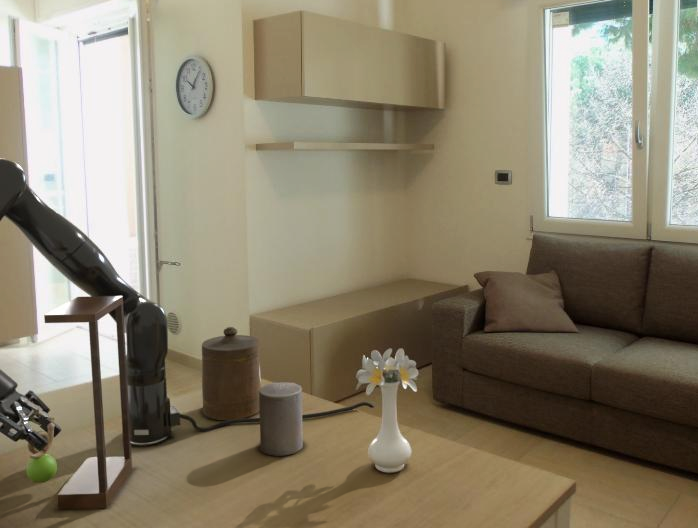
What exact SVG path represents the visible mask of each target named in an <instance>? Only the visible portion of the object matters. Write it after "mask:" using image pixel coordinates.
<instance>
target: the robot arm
mask: <svg viewBox="0 0 698 528" xmlns="http://www.w3.org/2000/svg"><path fill="white" fill-rule="evenodd" d="M4 217H5V218H6V219H8V220H9V222H11V223H12V224H13V225H14V226H16V227H17V228H18V230H20V232H21V233H22V234H23V235H24V236H25V237H26V238H27V240H28V241H29V242H30V244H32V246H33V247H34V248H35V249H36V250H37V251H38V252H39V253H40V255H42V257H44V258H45V259H46V260H47V261H48V263H49V264H50V265H52V267H54V268H55V269H56V270H57V271H58V272H59V273H60V274H61V275H63V277H65V278H66V279H67V280H68V281H70V283H71V284H73V285H75V286H76V287H77V288H78V289H80V290H81V291H82V292H84V293H85V294H87V295H88V296H89V297H92V296H123V312H124V330H125V339H126V366H127V384H128V402H129V421H130V439H131V446H134V447H135V446H136V447H148V446H153V445H157V444H160V443H163V442H165V441H167V440H168V439H172V438H173V437H172V428H173V427H177V426H181V419H182V420H185V421H188V422H190V423H191V425H192V426H193V428H194V430H195V431H197V432H208V431H211V430H215V429H218V428H220V427H223V426H227V425H232V424H238V423H239V424H241V423H242V424H243V423H260V417H247V418H243V419H233V420H222V421H220V422H218V423H216V424H213V425H211V426H207V427H200V426H199V425H198V424H197V422H196V420H195V419H194V418H193V417H191V416H190V415H186V414H183V413H181V412H180V411H179V410H178V409H177V408H176V407H175V406H174V405H171V398H170V397H168V388H167V387H168V386H167V366H166V365H167V363H166V359H167V356H168V350H169V340H168V339H169V336H168V335H169V334H168V331H169V330H168V317H167V314H166V311H165V309H164V308H163V307H162V306H161V305H160V304H158V303H157V302H155V301H152V300H151V299H149V298H147V297H145V296H143V294H141V293H140V292H139V291H137V290H135V288H134V287H132V286H131V285H130V284H128V283H127V282H126V281H125V280H124V279H123V278H122V277H121V276H120V274H119V273H118V272H117V270H116V268H114V265H113V264H112V263H111V261H110V260H109V258H108V257H107V255H106V254H105V253H104V252H103V251H102V249H100V247H99V246H98V245H97V244H95V242H94V241H93V240H92V239H91V238H90V237H88V235H87V234H85V232H83V231H82V230H81V229H80V228H78V227H77V226H76V225H75V224H74V223H73V222H71V221H70V220H68V219H67V218H66V217H65V216H63V215H61V214H60V213H58V212H57V211H56V210H55V209H53V208H52V207H50V206H49V205H47V203H45V201H43V200H42V199H41V198H40V197H39V196H38V194H36V192H35V191H34V190H33V189H32V188H31V187H30V186H29V185H28V183H27V177H26V174H25V171H24V170H23V168H22V167H21V166H20V165H19V164H17V163H16V162H15V161H13V160H9V159H7V158H0V222H1V221H2V220H3V218H4ZM107 315H109V316H110V317H111V318H112V320H113V321H114V322H115V323H116V308H115V309H114V310H112V311H111V312H109V313H108V314H107ZM18 385H19V384H18V382H17V381H15V380H14V379H13V378H12V377H11V376H9V375H8V374H7V373H6V372H4V371H3V370H2V369H1V368H0V433H1V434H2V435H4V436H5V437H7V438H9V439H10V440H11V441H12V442H14V443H17V442H18V441H20V440H21V441H24V440H25V441H26V442H27V444H28V443H30V444H31V445H32V446H33V447H34V448H36V449H37V450H38V451H41V450H42V449H43V448H44V447H45V446H46V445H47V444H48V441H47V440H46V439H45V438H43V437H42V436H41V435H40V434H39V433H37V432H38V431H36V430H35V429H33V427H32V426H31V425H30V423H29V422H31V423H33V424H35V425H38V426H39V428H41V429H42V431H44V432H46V433H47V434H48V428H47V426H48V424H50V423H54V425H55V428H54V437H53V438H56V437H57V436H58V435H59V434H60V433H61V431H62V427H60V426H59V425H58V424H57V423H56V422H55V421H54V420H52V419H49V418H50V417H49V413H50V411H51V409H50V408H49V407H48V406H47V405H46V403H45V402H44V401H43V400H41V398H40V397H39V396H38V395H37V394H36V393H35V392H34V391H33V390H28V391H27V392H26V393H25V394H22V393H20V392H19V391H17V388H18ZM364 406H367V407H369V408H371V409H373V408H375V405H373V404H372V403H371V402H368V401H361V402H358V403H356V404H353V405H350V406H345V407H341V408H336V409H332V410H327V411H322V412H314V413H307V414H302V420H303V419H312V418H318V417H319V418H320V417H326V416H330V415H334V414H338V413H343V412H344V413H345V412H348V411H352V410H355V409H358V408H360V407H364ZM14 432H15V433H14Z"/></svg>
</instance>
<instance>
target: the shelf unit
mask: <svg viewBox="0 0 698 528" xmlns="http://www.w3.org/2000/svg"><path fill="white" fill-rule="evenodd" d="M115 308H116V322H115V323H116V325H115V326H116V341H117V358H118V375H119V391H120V392H119V393H120V412H121V430H122V448H123V456H121V455H120V456H107V453H106V437H105V421H104V405H103V388H102V373H101V372H102V371H101V356H100V355H101V354H100V338H99V320H100V319H102V318H104V317H105V316H107V315H109V314H108V313H109V312H111V311H112V310H114V309H115ZM43 316H44V317H43V318H44V319H43V320H44V324H63V323H65V324H67V323H68V324H72V323H73V324H74V323H76V324H77V323H88V333H89V334H88V335H89V350H90V366H91V378H92V379H91V381H92V383H91V384H92V397H93V412H94V413H93V414H94V416H93V417H94V429H95V430H94V431H95V446H96V448H95V449H96V456H94V457H93V456H92V457H87V458H86V459H85V460H84V462H83V463H82V464H81V465H80V467H79V468H78V469H77V470H76V471H75V473H74V474H73V475H71V477H70V478H69V480H67V482H66V483H65V484H64V486H63V487H62V488H61V490H59V491H58V493H57V494H56V500H57V501H56V502H57V510H58V511H60V510H63V511H64V510H88V509H89V510H90V509H91V510H93V509H107V508H108V507H109V505H110V504H111V502H112V500H113V499H114V498H115V496H116V494H117V493H118V492H119V490H120V488H122V485H123V484H124V482H125V481H126V479H127V478H128V476H129V475H130V473H131V472H132V470H133V462H132V460H133V459H132V445H131V439H130V421H129V402H128V384H127V366H126V354H127V347H126V333H125V330H124V312H123V296H92V297H91V296H77V297H75V298H73V299H71V300H69V301H68V302H67V301H66V303H64V304H62V305H60V306H58V307H57V308H54V309H52V310H51V311H48V312H47V313H46V314H44V315H43Z"/></svg>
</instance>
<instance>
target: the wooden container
mask: <svg viewBox="0 0 698 528" xmlns="http://www.w3.org/2000/svg"><path fill="white" fill-rule="evenodd" d="M260 346H261V345H260V339H258V338H257V337H255V336H252V335H247V334H246V335H245V334H238V330H237V328H235V327H234V326H228V327H226V328H225V329H223V335H220V336H219V335H218V336H215V337H211V338H208V339H206V340H204V341H203V342H202V343H201V393H202V395H201V396H202V412H203V415H205V417H207V418H209V419H212V420H218V421H227V420H233V419H245V418H251V417H253V416H254V415H257V414H258V413H259V411H260V410H259V390H260V388H261V387H262V381H261V380H262V379H261V363H260V360H261V359H260V353H261V352H260V348H261V347H260Z"/></svg>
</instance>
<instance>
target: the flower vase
mask: <svg viewBox="0 0 698 528" xmlns="http://www.w3.org/2000/svg"><path fill="white" fill-rule="evenodd" d="M392 352H393V348H388V349H387V350H385V351H384V353H383V354H382V355H381V353H380V352H379V351H378V350H376V349H373V350H372V351H371V352H370V357H371V358H369V357H367V358H366V355H365V354H363V355H362V361H361V362H362V363H361V364H362V366H361V368H362V369H359V370H358V371H357V372H356V375H355V379H356V380H358V382H357V385H356V387H355V390H356V391H357V390H358V389H359V388H360V387H361V386H362V385H363V384H368V385H367V386H366V389H365V394H366V396H370V395H371V394H372V392H373V391H374V389H375V388H376V387H377V386H379V387H380V391H381V399H382V401H381V402H382V403H381V404H382V405H381V407H382V408H381V424H380V429H379V431H378V433H377V435H376V436H375V437H374V438H372V440H371V442H370V443H369V445H368V448H367V456H368V458H369V459H370V461H371V462H372V463H373V464H374V466H375V468H376V470H378V471H380V472H381V473H388V474H393V473H397V472H400V471H402V470H403V469H404V467H405V464H406V463H407V462H408V461H409V460H410V459H411V457H412V452H413V451H412V447H411V444H410V443H409V441H408V440H407V438H405V437H404V436H403V435H402V432H401V431H400V428H399V424H398V413H397V411H398V409H397V398H398V397H397V396H398V390H399V386H400V384H401V385H402V388H403V389H405V390H406V389H407V388H408V387H409V388H410V389H411V390H412V391H413V392H415V393H417V392H418V387H417V384H416V383H415V381H418V376H419V373H420V372H419V370H418V369H417V367H416V366H417V362H416V361H415V360H413V359H410V358H409V356H408V355H405V351H404V348H398V349H397V351H396V353H395V356H394V358H393V357H392V356H391V354H392ZM384 374H385V376H383V375H384Z"/></svg>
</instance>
